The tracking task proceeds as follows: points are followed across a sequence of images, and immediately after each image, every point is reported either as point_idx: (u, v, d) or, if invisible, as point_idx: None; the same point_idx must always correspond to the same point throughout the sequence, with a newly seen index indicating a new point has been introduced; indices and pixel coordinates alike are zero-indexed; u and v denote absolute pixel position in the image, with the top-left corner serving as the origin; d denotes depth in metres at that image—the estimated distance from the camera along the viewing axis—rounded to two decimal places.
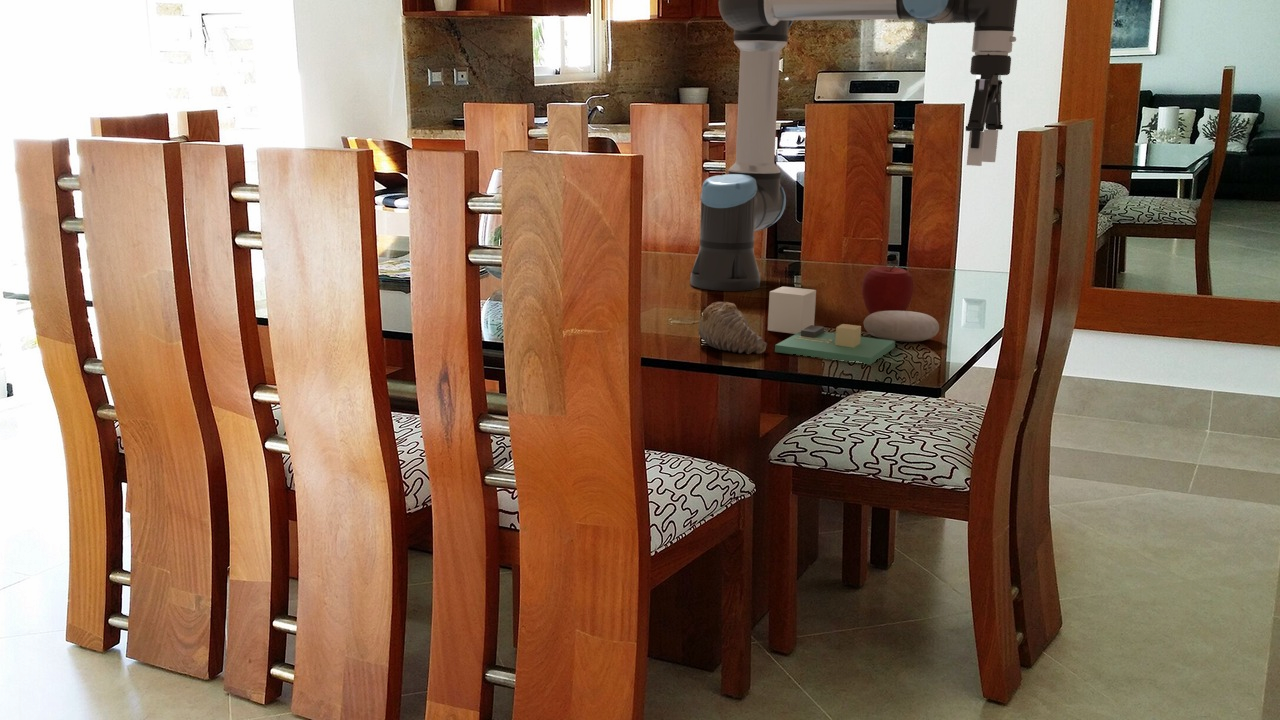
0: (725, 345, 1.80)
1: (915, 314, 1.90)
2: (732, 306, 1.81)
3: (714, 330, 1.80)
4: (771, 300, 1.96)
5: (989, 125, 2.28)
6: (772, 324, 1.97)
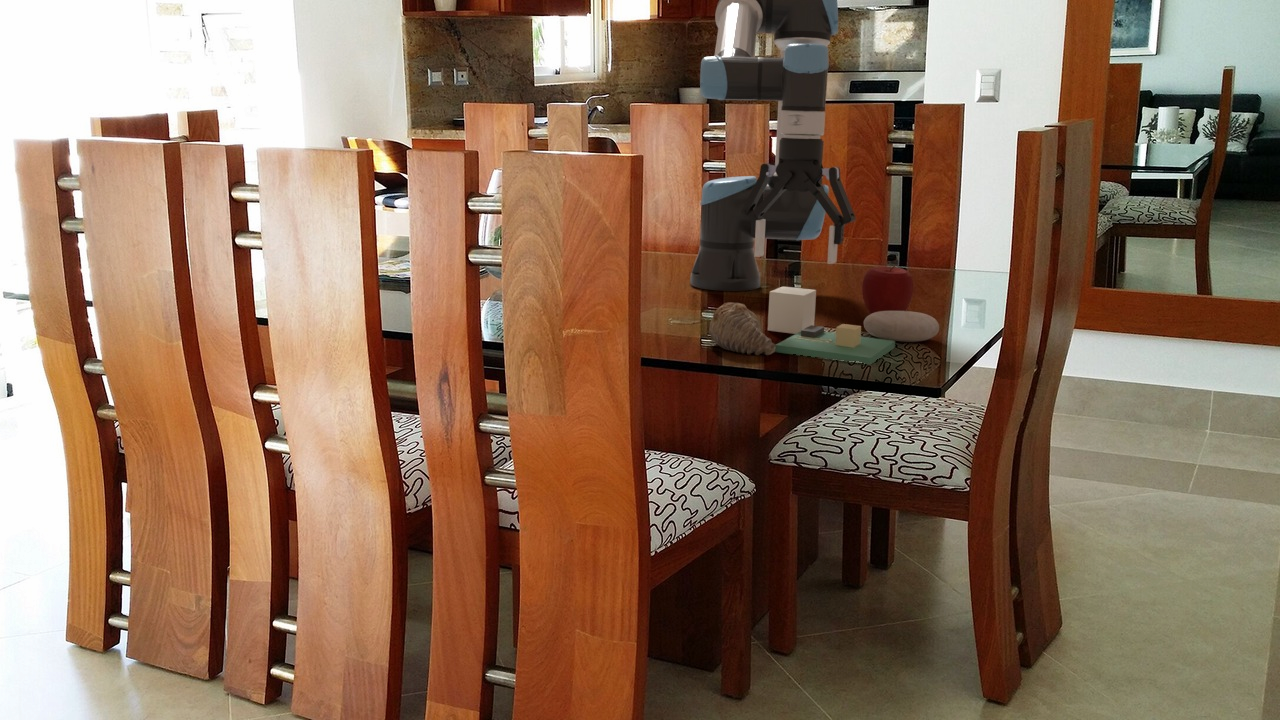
0: (734, 346, 1.80)
1: (915, 314, 1.90)
2: (742, 307, 1.80)
3: (723, 331, 1.80)
4: (771, 300, 1.96)
5: None
6: (772, 324, 1.97)
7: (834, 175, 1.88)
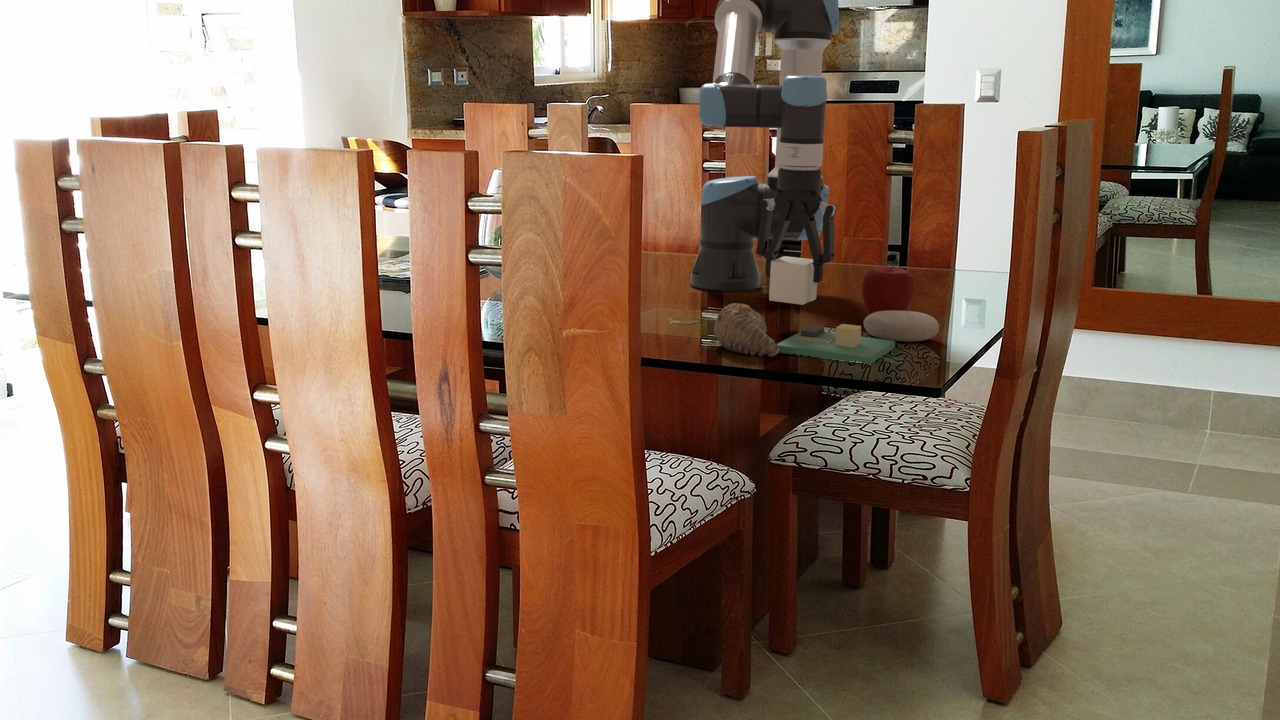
0: (737, 347, 1.79)
1: (915, 314, 1.90)
2: (746, 308, 1.80)
3: (726, 331, 1.79)
4: (773, 270, 1.95)
5: None
6: (774, 294, 1.96)
7: (829, 214, 1.90)
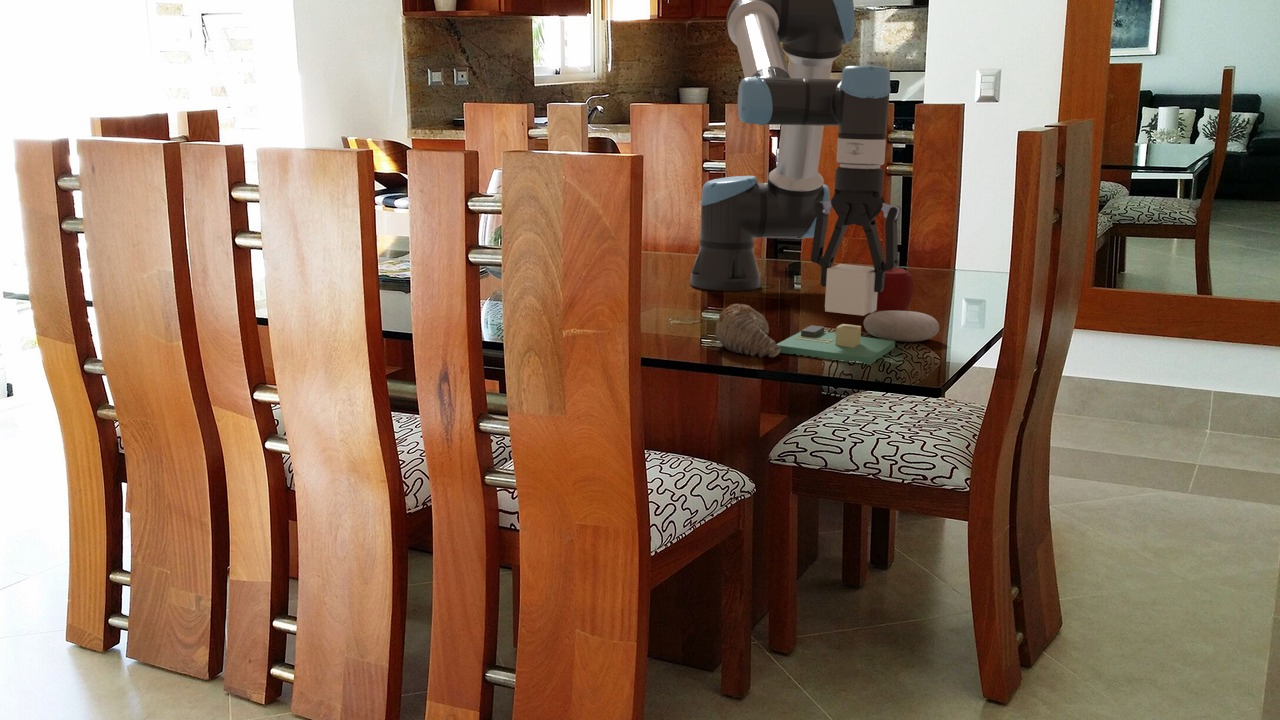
0: (737, 347, 1.79)
1: (915, 314, 1.90)
2: (747, 308, 1.79)
3: (727, 332, 1.79)
4: (829, 277, 1.78)
5: None
6: (830, 305, 1.79)
7: (893, 216, 1.74)
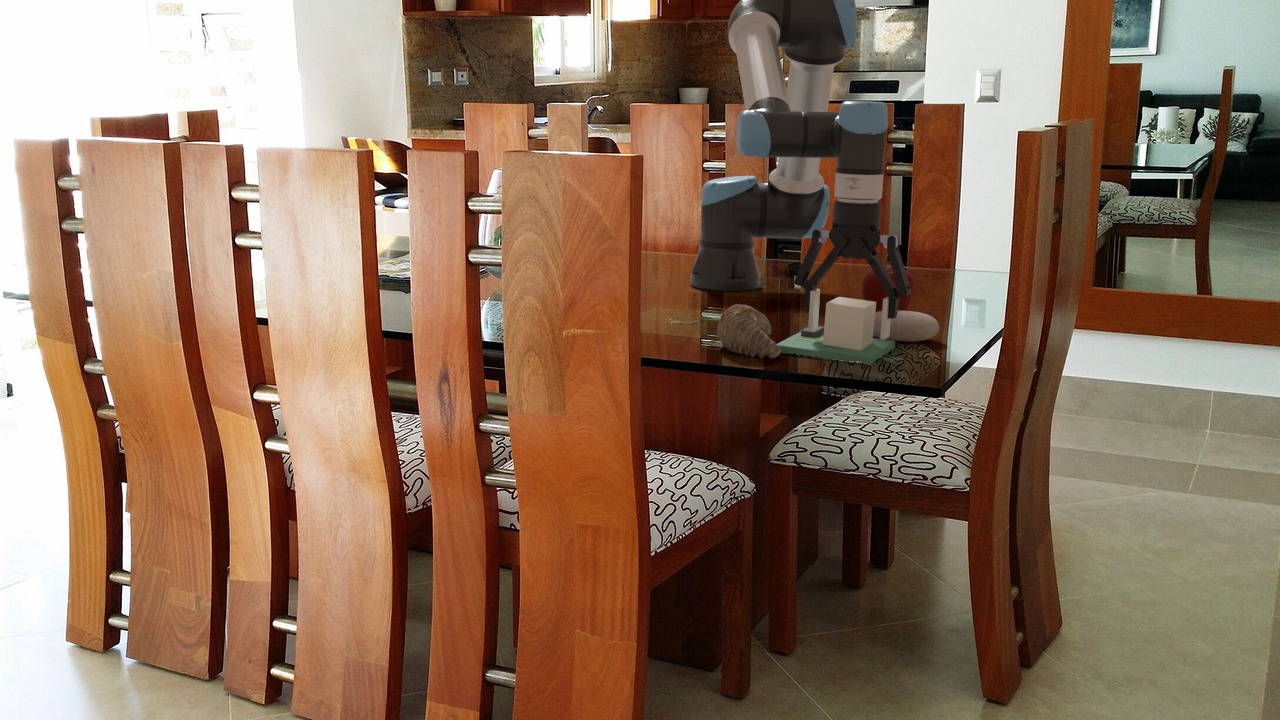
0: (738, 348, 1.78)
1: (915, 314, 1.90)
2: (748, 309, 1.79)
3: (727, 332, 1.79)
4: (828, 312, 1.80)
5: None
6: (828, 338, 1.81)
7: (893, 244, 1.75)
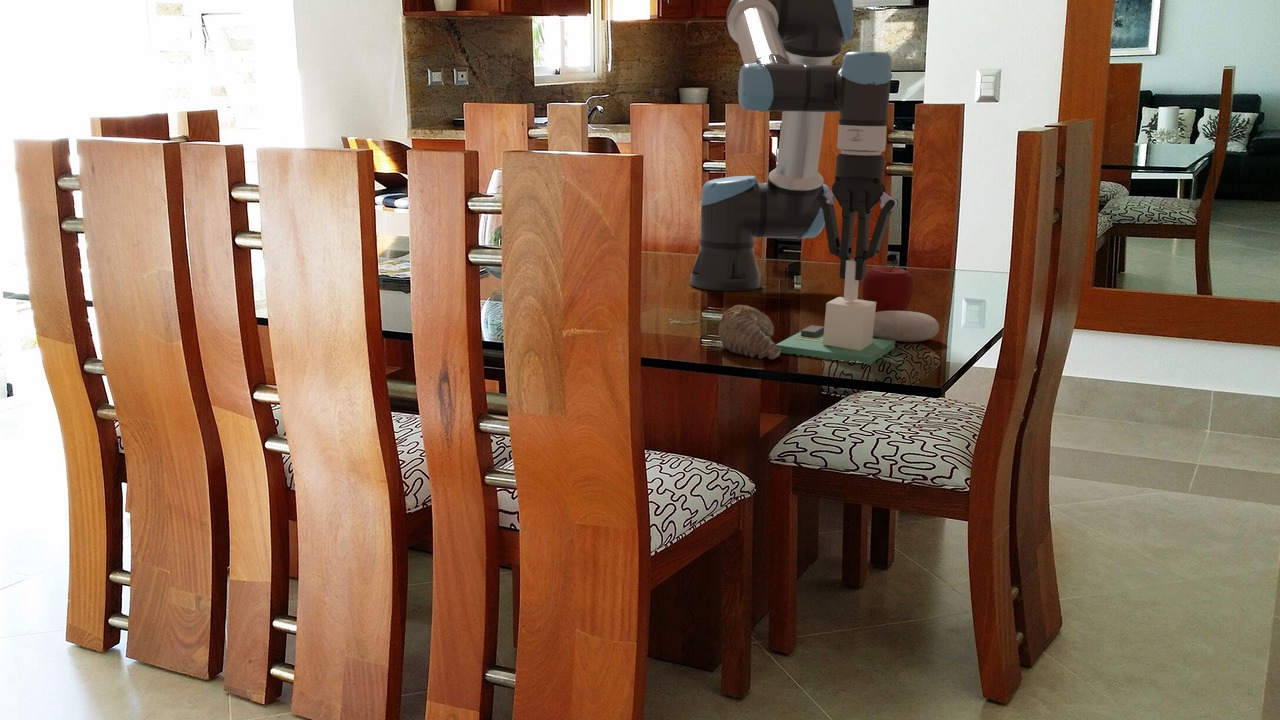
0: (737, 348, 1.78)
1: (915, 314, 1.90)
2: (748, 309, 1.78)
3: (727, 333, 1.78)
4: (828, 312, 1.80)
5: None
6: (828, 338, 1.81)
7: (889, 209, 1.74)
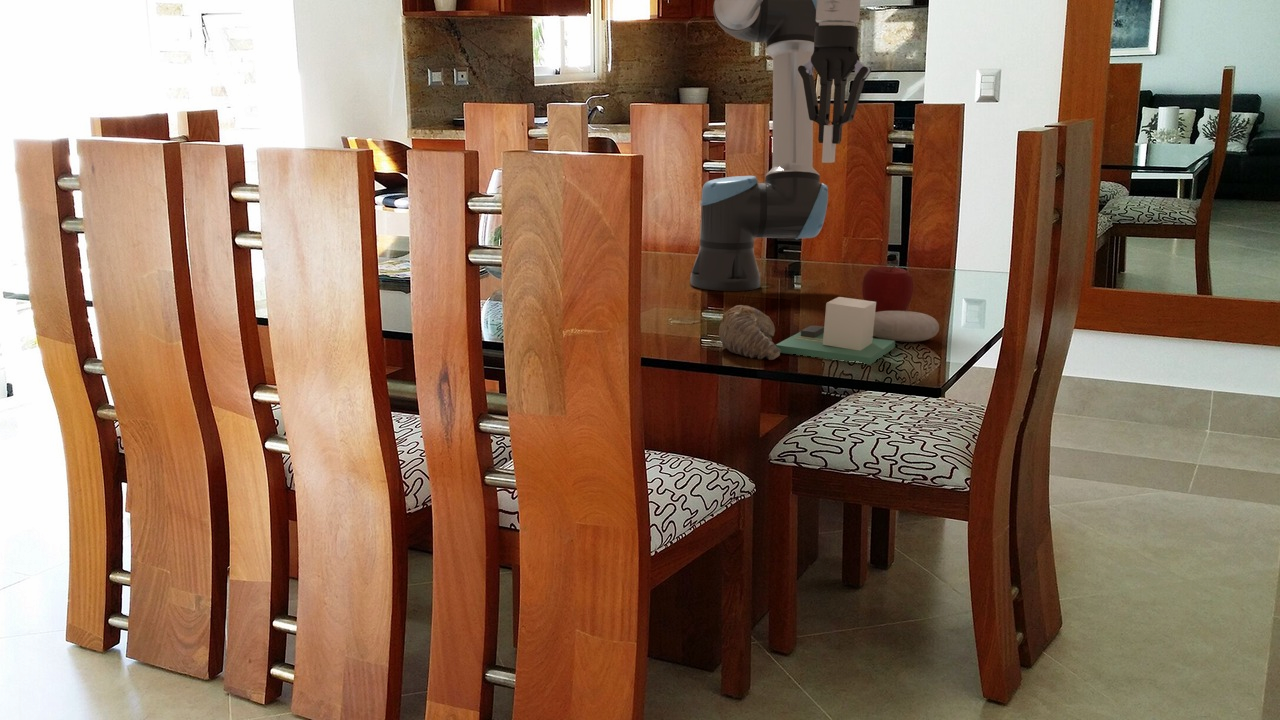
0: (737, 349, 1.78)
1: (915, 314, 1.90)
2: (748, 310, 1.78)
3: (727, 333, 1.78)
4: (828, 312, 1.80)
5: None
6: (828, 338, 1.81)
7: (862, 75, 1.91)
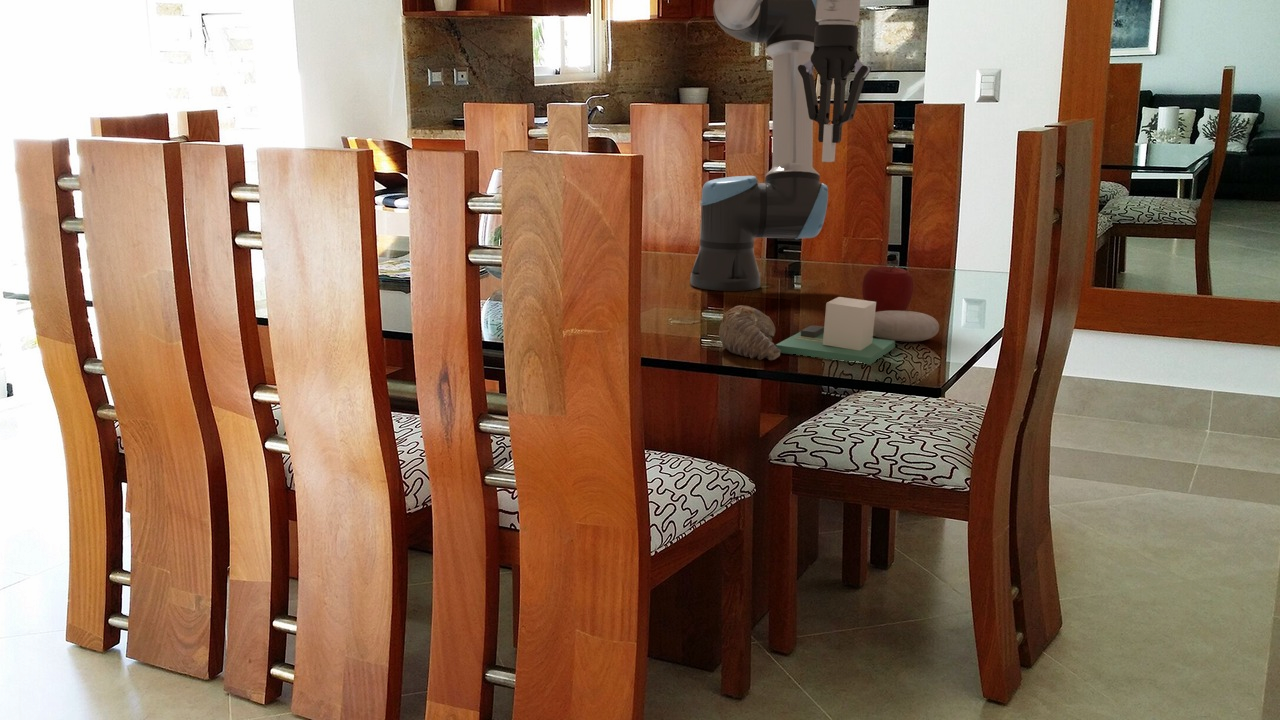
0: (737, 349, 1.77)
1: (915, 314, 1.90)
2: (748, 310, 1.78)
3: (727, 333, 1.78)
4: (828, 312, 1.80)
5: None
6: (828, 338, 1.81)
7: (862, 74, 1.91)
